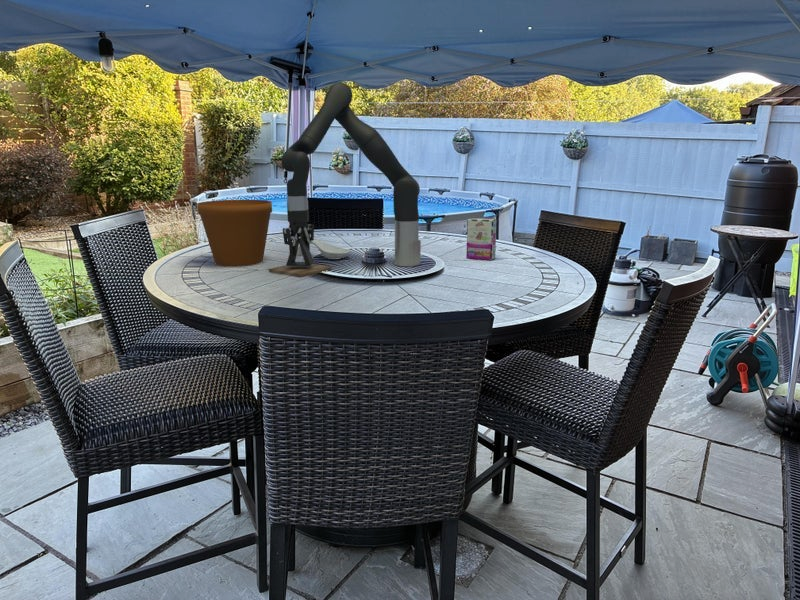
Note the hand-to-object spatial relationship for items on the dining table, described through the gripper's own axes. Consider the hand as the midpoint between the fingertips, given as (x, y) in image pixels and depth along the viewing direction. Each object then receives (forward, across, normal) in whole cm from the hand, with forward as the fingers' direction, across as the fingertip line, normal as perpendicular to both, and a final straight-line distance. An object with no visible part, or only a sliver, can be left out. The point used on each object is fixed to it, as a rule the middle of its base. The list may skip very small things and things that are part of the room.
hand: (299, 254), depth 211 cm
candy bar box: (+7, -61, +43) cm, 75 cm away
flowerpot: (+6, +1, -33) cm, 34 cm away
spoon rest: (+7, -26, -12) cm, 29 cm away
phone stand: (+4, 0, 0) cm, 4 cm away
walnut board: (+6, 0, 0) cm, 6 cm away
